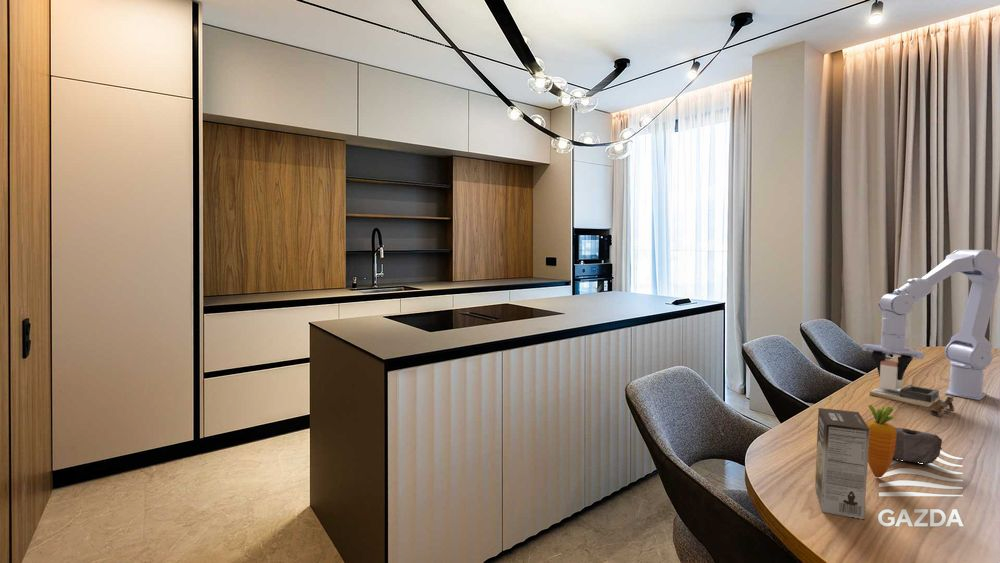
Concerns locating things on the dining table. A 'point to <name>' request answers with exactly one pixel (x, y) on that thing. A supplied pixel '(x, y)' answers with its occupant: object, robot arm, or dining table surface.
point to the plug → (889, 374)
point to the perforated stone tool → (916, 446)
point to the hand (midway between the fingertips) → (890, 377)
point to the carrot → (881, 441)
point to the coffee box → (842, 462)
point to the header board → (909, 395)
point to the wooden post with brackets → (942, 406)
